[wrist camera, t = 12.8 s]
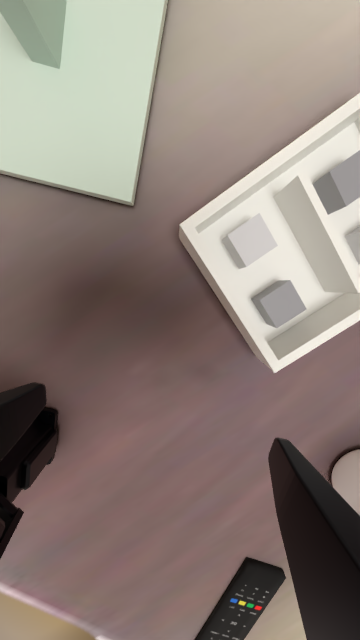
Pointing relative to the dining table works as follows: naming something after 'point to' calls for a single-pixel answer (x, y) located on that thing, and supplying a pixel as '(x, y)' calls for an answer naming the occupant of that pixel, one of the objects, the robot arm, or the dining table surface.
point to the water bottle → (348, 478)
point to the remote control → (243, 601)
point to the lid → (78, 91)
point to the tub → (288, 242)
